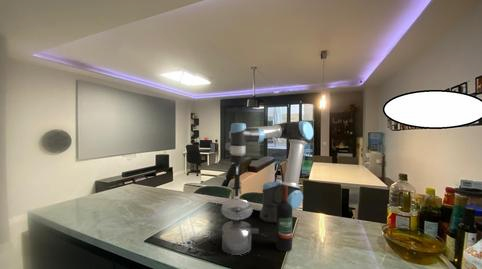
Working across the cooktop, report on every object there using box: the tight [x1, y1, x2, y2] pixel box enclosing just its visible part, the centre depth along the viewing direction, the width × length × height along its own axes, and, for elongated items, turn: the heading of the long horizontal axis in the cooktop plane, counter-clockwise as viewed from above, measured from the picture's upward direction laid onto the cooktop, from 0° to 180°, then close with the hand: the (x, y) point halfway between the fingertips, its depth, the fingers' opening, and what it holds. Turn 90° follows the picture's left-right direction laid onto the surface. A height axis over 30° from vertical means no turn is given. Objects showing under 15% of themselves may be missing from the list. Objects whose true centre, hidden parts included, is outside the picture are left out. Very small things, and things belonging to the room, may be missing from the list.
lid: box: [220, 198, 253, 221], centre depth 106 cm, size 16×16×2 cm
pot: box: [214, 220, 260, 256], centre depth 101 cm, size 14×21×10 cm, turn 91°
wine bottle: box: [275, 185, 293, 253], centre depth 102 cm, size 8×8×30 cm
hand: (236, 202), depth 104 cm, fingers closed
